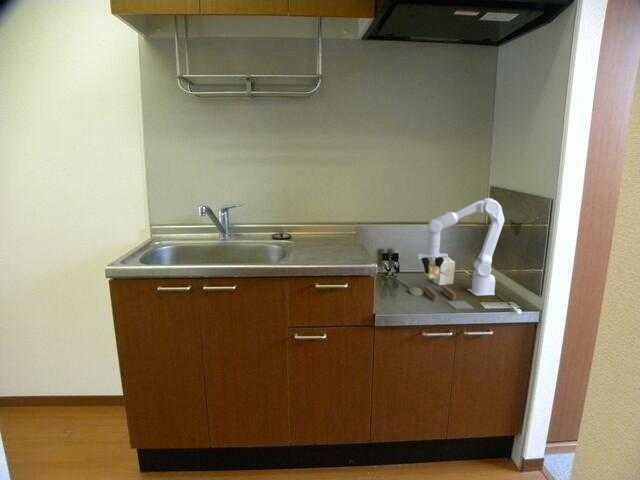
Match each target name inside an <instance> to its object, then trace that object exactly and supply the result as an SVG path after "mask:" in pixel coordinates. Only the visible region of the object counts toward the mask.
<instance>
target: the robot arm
mask: <svg viewBox="0 0 640 480" xmlns="http://www.w3.org/2000/svg"><path fill="white" fill-rule="evenodd" d="M474 213H482V214H483V213H486V214H487V215H488V217H489V218H490V220H491V222H490V225H489V227H488V231H487V234H486V237H485V239H484V243H483V245H482V249H481V251H480V253H479V254H478V257H477V259H475V261H473V267H474V269H475V270H474V271H473V273H472V282H471V288H467V291H469V292H471V294H473V295H475V296H476V297H477V296H495V295H496V294H495V287H496V277H495V276H494V275H493V274H491V272H492V262H493V256H494V252H495V249H496V246H497V243H498V240H499V237H500V234H501V232H502V229H503V226H504V224H505V220H506V219H505V215H504V213H503V208H502V205H501V204H500V203H499V202H498V201H497V200H495V199H494V198H491V197H486V198H483V200H481V199H480V200H478V201H475V202H473V203H472V204H470V205H467V206H465V207H464V208H462V209H460V210H458V211H456V212H453V211H450V212H449V211H447V212H445V214H442V215H441V216H437V217H435V219H431V220H429V222H428V225H427V227H428V233H427V244H426V252H424V253H417V255H416V256H417V257H416V259H418V260H421V262H422V264H423V269H424V274H425V273H426V274H428V268H429V264H431V263H430V262H431V260H430V259H435V265H436V266H437V267H439V268H440V266H441V265H442V263H443V262H444V259H443V258H448V257H449V253H447V252H446V253H443V252H440V247H441V237H442V236H441V231H442V230H443V229H446V228H449V227H451V226H453V225H455V224H457V223H458V222H459V220H460V219H462V218H465V217H467V216H469V215H471V214H474Z"/></svg>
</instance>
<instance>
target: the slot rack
mask: <svg viewBox="0 0 640 480" xmlns="http://www.w3.org/2000/svg"><path fill="white" fill-rule="evenodd" d="M423 293H424V294H426V295H427V296H428V297H429V298H430V299H431V300H432V301H433V302H438V300H439V299H438V297H439V294H438V293H437V292H435V290H433V289H432V288H430V287H429V286H426V285H425V286H424V290H423ZM441 293H442V294H444V295H445V296H446V297H448V298H449V300H450V301H457V300H456V299H457V293H456V292H454V291H453V290H452V289H450V288H449V287H447V285H441Z"/></svg>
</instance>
